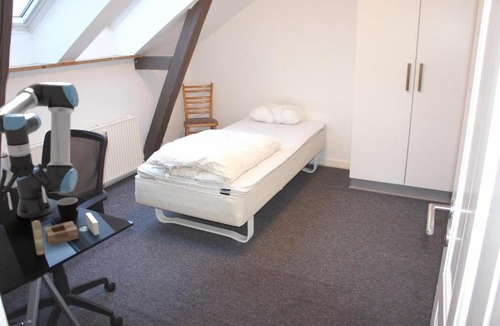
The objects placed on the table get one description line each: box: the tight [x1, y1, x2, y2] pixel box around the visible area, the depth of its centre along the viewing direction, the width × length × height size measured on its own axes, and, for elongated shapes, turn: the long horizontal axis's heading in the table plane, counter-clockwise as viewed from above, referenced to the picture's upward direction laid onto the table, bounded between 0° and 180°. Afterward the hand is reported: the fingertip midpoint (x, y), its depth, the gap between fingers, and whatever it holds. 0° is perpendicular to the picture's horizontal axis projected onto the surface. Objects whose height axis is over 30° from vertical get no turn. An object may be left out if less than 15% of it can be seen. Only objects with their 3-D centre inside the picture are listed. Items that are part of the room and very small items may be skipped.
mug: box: [56, 196, 79, 223], centre depth 187 cm, size 12×9×10 cm
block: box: [44, 221, 80, 246], centre depth 171 cm, size 9×11×4 cm
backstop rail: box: [85, 212, 100, 236], centre depth 179 cm, size 12×2×6 cm, turn 36°
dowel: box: [31, 220, 46, 256], centre depth 157 cm, size 3×3×14 cm
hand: (28, 204), depth 160 cm, fingers open, 12 cm apart
